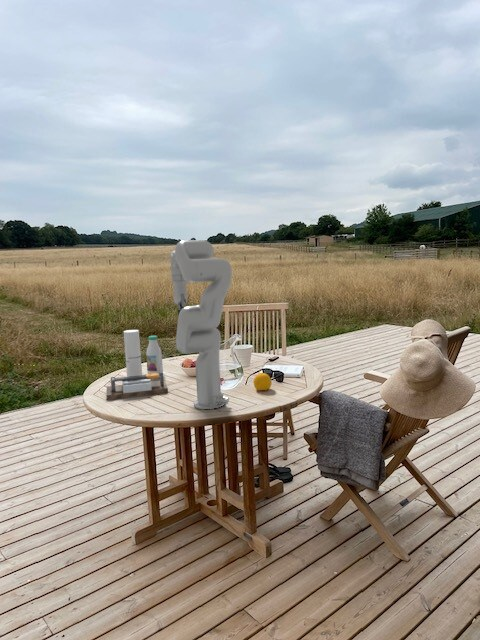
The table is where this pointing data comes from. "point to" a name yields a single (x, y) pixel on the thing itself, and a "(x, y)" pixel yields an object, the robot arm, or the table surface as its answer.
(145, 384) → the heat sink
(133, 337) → the cylindrical container
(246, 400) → the table surface
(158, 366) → the milk bottle
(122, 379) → the lever
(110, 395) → the mounting board
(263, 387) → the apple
